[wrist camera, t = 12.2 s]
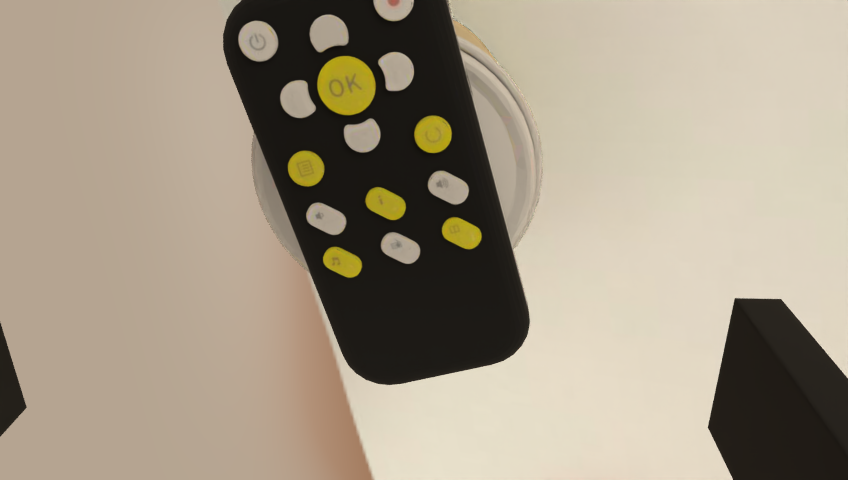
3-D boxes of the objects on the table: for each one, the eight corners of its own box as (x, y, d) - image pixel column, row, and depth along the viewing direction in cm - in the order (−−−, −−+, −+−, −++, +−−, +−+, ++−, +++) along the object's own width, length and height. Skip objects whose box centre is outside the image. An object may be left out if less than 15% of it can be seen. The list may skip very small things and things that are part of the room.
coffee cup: (345, 204, 35) (291, 330, 24) (295, 14, 31) (203, 60, 20) (530, 173, 34) (562, 290, 23) (501, -29, 30) (522, -6, 19)
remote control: (362, 368, 24) (354, 404, 22) (220, 2, 19) (195, 9, 18) (535, 330, 23) (541, 365, 21) (431, -65, 18) (427, -65, 17)
